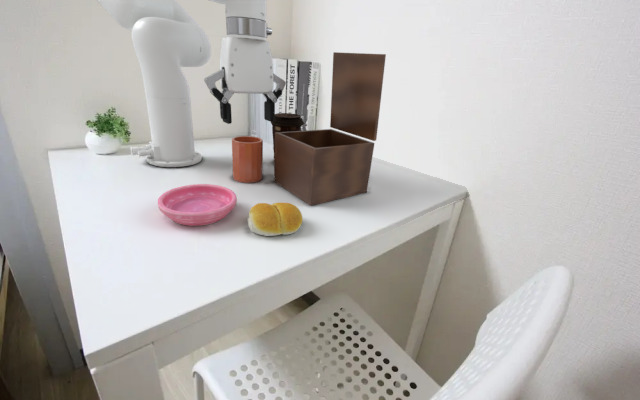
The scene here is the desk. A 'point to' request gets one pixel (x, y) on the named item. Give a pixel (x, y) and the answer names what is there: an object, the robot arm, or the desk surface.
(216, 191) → the saucer
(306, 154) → the chest
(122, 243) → the desk surface
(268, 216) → the bread roll
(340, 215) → the desk surface
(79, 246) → the desk surface
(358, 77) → the lid
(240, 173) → the tumbler
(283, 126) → the coffee cup
